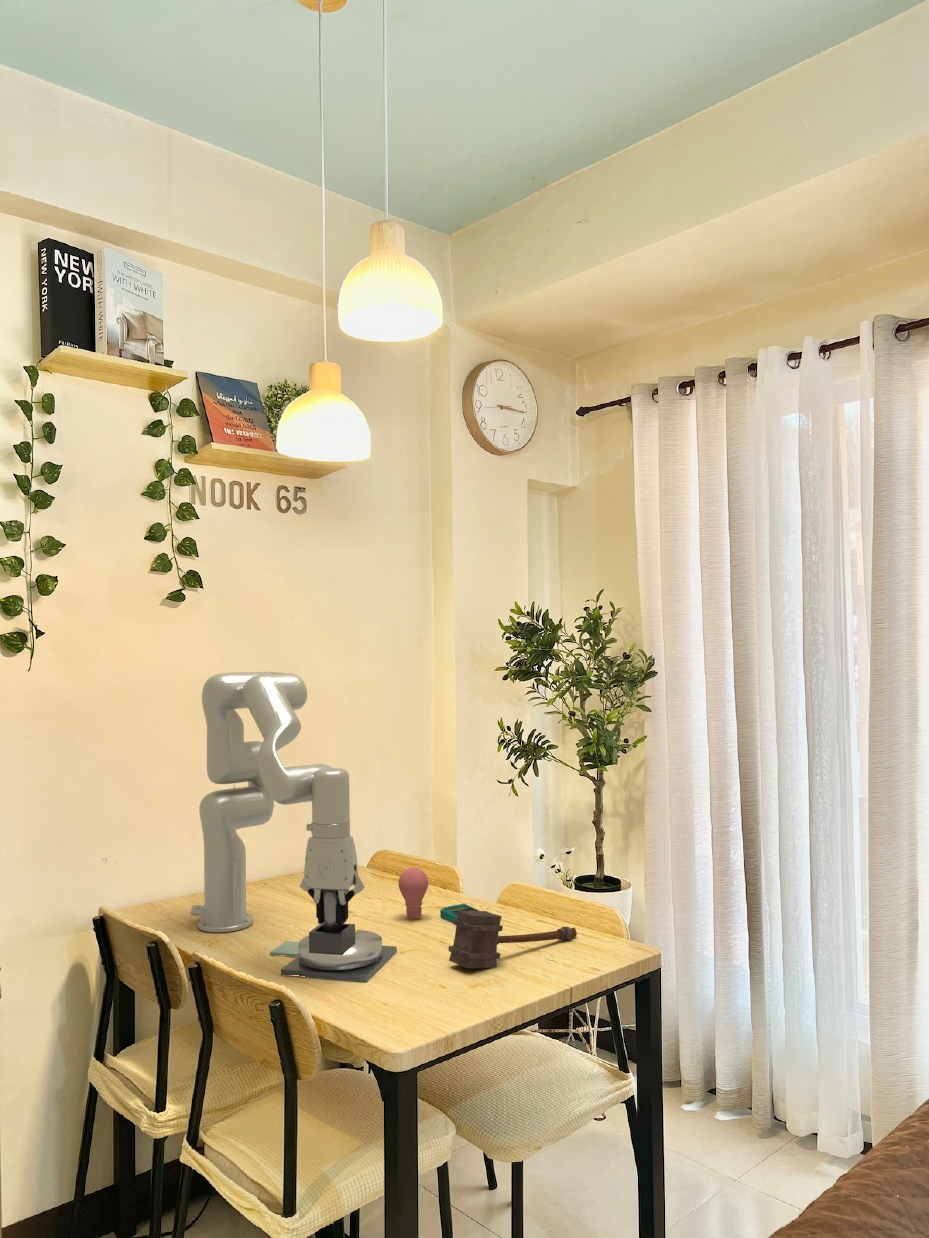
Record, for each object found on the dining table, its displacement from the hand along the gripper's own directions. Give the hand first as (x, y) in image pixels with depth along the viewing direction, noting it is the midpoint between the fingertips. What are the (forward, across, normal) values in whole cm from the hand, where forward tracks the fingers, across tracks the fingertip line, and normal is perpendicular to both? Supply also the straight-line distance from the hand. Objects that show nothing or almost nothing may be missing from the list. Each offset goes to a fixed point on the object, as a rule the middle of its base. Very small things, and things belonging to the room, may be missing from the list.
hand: (332, 921), depth 184 cm
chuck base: (+10, 0, +4) cm, 11 cm away
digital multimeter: (+10, +18, +37) cm, 43 cm away
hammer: (+10, +34, +18) cm, 40 cm away
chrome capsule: (+4, 0, 0) cm, 4 cm away
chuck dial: (+8, 0, +4) cm, 9 cm away
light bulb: (+10, +5, +37) cm, 39 cm away
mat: (+10, -13, +10) cm, 19 cm away
